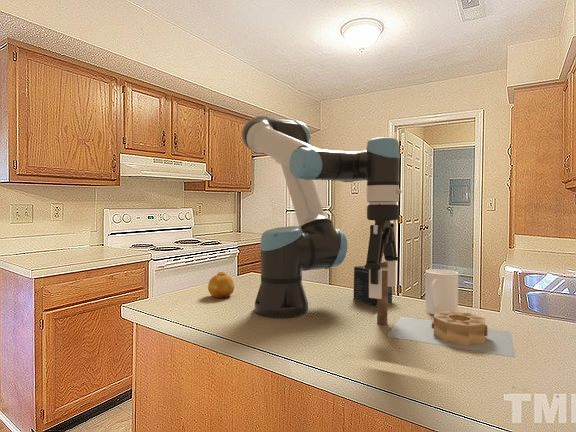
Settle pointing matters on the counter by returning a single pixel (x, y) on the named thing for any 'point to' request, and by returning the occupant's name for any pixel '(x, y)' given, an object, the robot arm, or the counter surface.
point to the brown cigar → (383, 296)
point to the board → (424, 332)
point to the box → (365, 286)
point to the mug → (441, 291)
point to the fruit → (221, 285)
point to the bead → (459, 327)
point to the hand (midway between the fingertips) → (382, 291)
